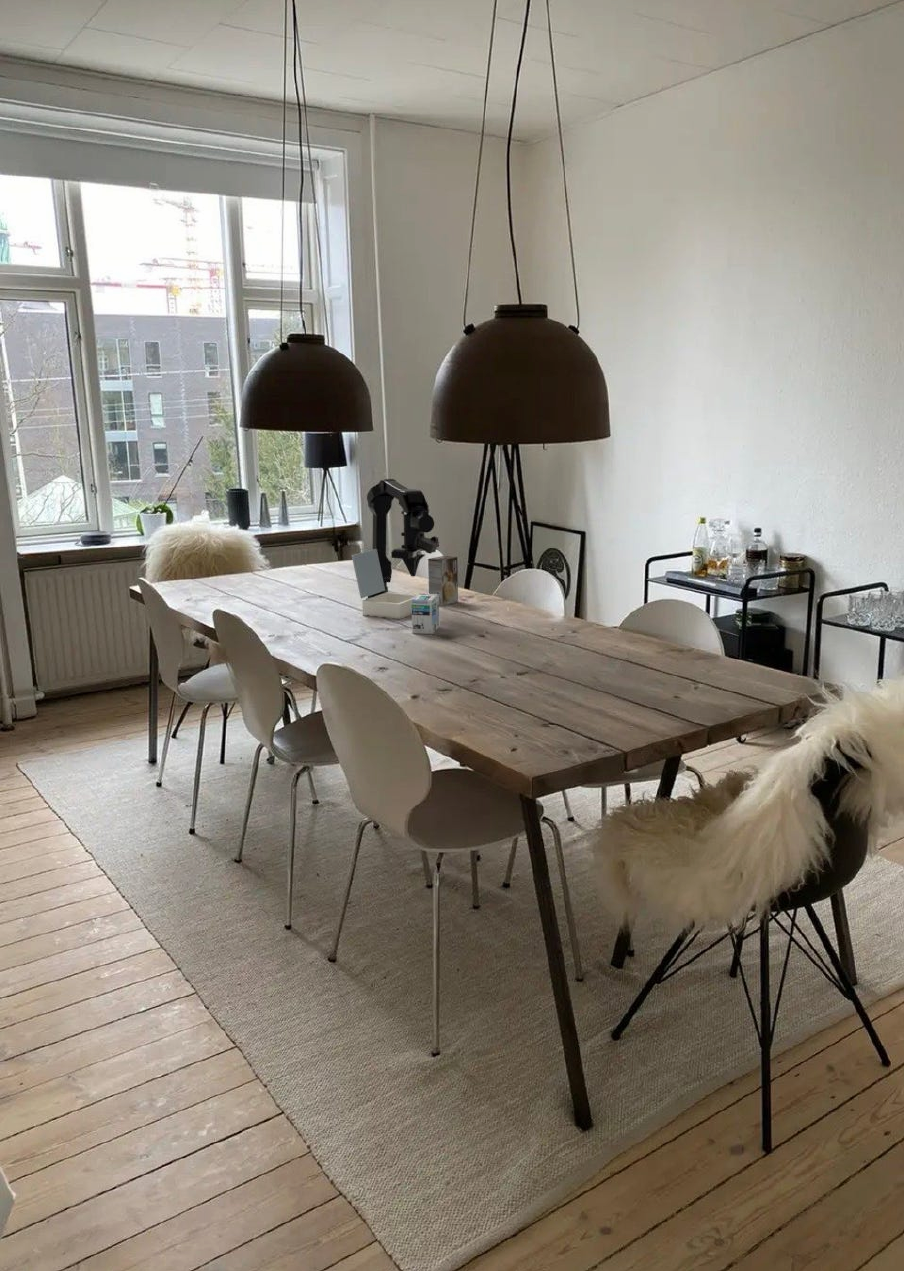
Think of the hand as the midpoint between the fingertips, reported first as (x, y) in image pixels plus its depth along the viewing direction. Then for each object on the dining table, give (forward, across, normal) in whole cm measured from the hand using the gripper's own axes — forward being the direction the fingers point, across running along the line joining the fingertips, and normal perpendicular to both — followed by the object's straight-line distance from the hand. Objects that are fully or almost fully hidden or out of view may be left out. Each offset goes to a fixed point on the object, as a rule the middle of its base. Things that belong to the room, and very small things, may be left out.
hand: (413, 576), depth 325 cm
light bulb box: (+13, -18, -14) cm, 26 cm away
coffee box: (+13, +22, 0) cm, 26 cm away
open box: (+13, 0, +8) cm, 15 cm away
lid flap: (0, 0, +17) cm, 17 cm away
